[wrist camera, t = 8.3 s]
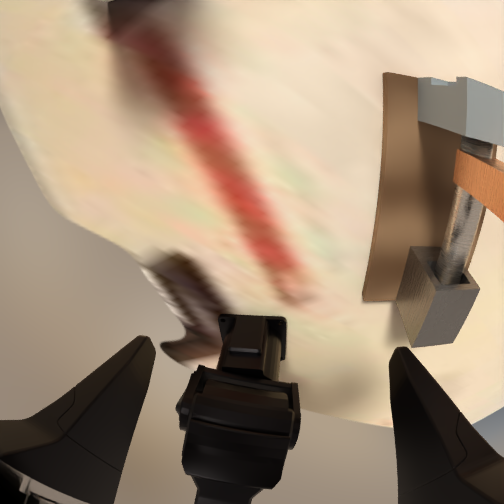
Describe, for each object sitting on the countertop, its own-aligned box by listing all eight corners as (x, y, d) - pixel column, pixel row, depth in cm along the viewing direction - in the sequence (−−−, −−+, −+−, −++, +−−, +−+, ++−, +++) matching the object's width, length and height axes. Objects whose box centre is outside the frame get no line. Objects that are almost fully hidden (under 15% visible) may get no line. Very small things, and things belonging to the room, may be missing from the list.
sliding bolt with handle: (450, 287, 18) (495, 379, 10) (417, 288, 18) (457, 389, 11) (487, 104, 10) (593, 140, 3) (450, 93, 11) (563, 117, 3)
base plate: (453, 290, 22) (456, 297, 21) (362, 293, 23) (364, 300, 22) (492, 101, 12) (499, 102, 12) (382, 73, 14) (387, 72, 13)
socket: (478, 134, 13) (530, 156, 8) (417, 120, 14) (465, 136, 9) (480, 95, 12) (534, 106, 7) (417, 77, 13) (466, 77, 8)
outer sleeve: (432, 298, 21) (452, 343, 17) (395, 300, 22) (411, 347, 17) (450, 246, 19) (480, 288, 14) (410, 245, 19) (436, 290, 14)
